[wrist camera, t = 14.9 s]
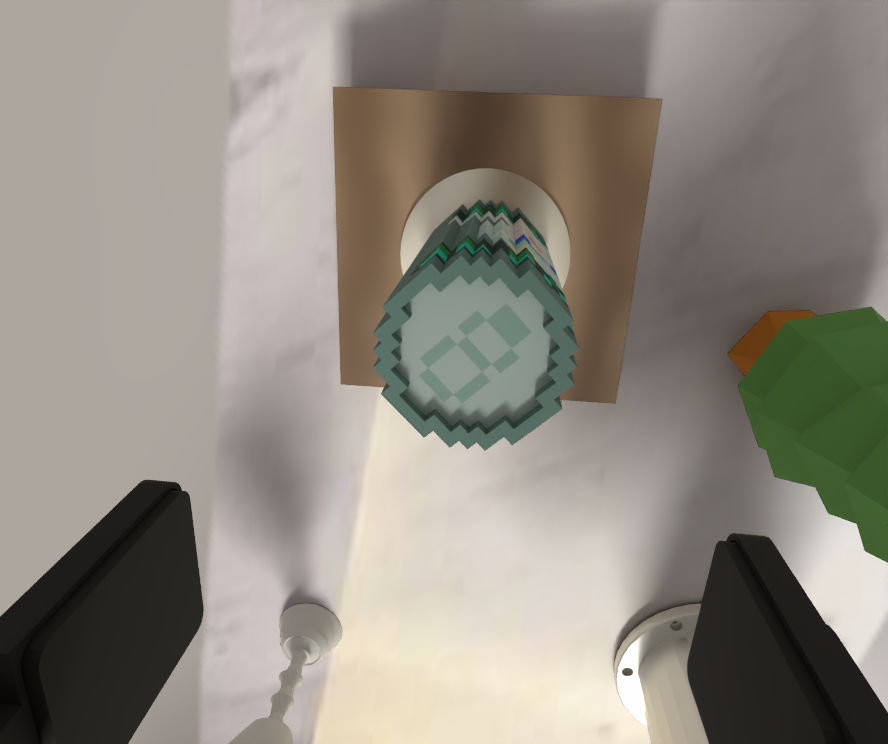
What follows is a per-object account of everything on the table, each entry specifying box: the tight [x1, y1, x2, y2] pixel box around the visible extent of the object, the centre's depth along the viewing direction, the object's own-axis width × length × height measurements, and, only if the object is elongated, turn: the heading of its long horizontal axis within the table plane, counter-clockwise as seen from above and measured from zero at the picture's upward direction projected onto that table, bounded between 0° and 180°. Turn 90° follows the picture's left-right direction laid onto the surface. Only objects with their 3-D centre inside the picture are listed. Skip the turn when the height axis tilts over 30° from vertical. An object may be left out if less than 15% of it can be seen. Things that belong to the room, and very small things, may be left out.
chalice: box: [228, 603, 342, 744], centre depth 41 cm, size 7×7×18 cm
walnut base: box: [333, 87, 662, 403], centre depth 35 cm, size 16×16×4 cm
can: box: [373, 199, 580, 450], centre depth 26 cm, size 6×6×15 cm
